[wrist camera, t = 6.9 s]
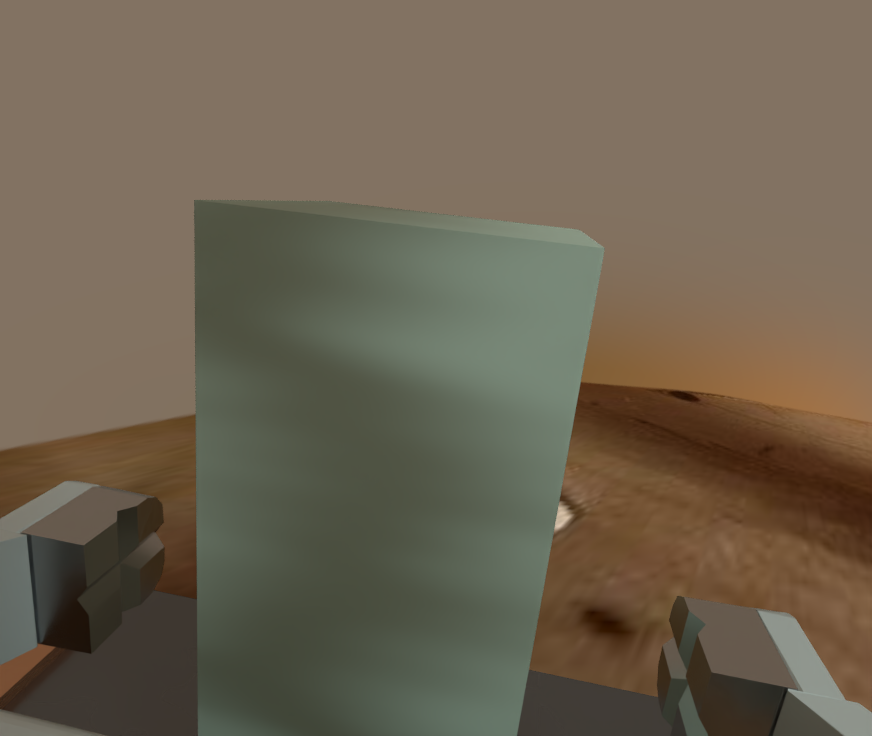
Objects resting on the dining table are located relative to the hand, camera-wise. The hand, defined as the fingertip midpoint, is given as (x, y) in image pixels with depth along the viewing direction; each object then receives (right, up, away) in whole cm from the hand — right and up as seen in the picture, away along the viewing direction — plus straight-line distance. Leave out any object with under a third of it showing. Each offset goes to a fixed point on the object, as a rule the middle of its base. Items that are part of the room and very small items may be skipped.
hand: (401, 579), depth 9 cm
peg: (-1, -6, +2) cm, 7 cm away
